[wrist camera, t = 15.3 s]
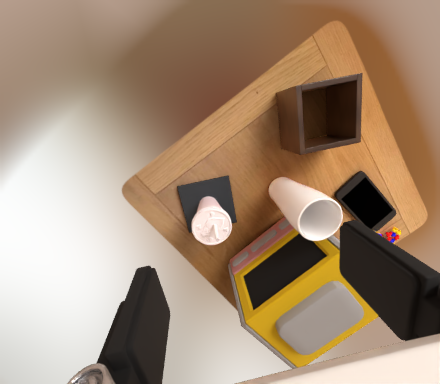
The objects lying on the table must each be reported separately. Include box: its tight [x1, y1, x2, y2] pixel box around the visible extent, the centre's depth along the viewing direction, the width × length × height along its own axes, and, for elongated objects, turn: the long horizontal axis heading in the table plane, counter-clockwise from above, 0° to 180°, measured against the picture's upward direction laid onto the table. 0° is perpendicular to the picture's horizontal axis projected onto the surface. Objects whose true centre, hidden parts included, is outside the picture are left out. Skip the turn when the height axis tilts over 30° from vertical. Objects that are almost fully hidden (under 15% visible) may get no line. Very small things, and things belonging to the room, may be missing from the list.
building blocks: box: [375, 227, 401, 244], centre depth 50 cm, size 6×8×2 cm
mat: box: [177, 176, 237, 233], centre depth 43 cm, size 10×10×1 cm
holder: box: [276, 73, 362, 155], centre depth 37 cm, size 10×10×8 cm
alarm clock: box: [228, 217, 379, 369], centre depth 40 cm, size 20×16×18 cm
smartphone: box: [335, 171, 396, 232], centre depth 47 cm, size 7×15×1 cm, turn 47°
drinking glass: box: [269, 177, 343, 241], centre depth 37 cm, size 7×7×15 cm
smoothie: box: [191, 196, 232, 245], centre depth 36 cm, size 6×6×14 cm
